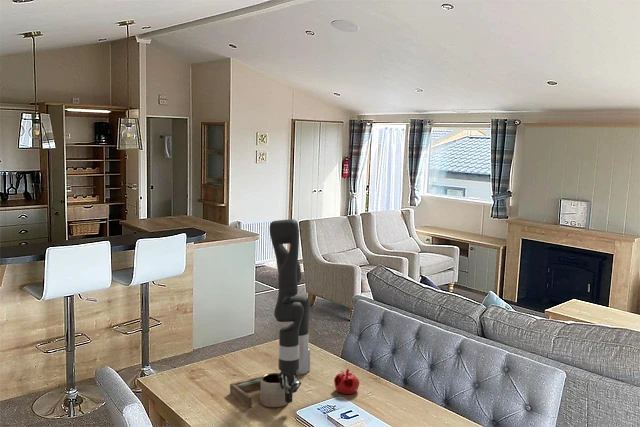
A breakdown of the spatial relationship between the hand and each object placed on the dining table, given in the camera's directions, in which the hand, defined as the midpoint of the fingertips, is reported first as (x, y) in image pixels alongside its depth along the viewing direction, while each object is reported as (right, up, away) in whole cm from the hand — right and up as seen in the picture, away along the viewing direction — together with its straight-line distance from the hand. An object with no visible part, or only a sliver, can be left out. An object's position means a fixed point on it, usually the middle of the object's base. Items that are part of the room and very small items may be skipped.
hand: (288, 402), depth 208 cm
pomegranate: (+22, -2, +19) cm, 30 cm away
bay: (-11, -2, +14) cm, 18 cm away
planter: (-6, -3, +8) cm, 10 cm away
